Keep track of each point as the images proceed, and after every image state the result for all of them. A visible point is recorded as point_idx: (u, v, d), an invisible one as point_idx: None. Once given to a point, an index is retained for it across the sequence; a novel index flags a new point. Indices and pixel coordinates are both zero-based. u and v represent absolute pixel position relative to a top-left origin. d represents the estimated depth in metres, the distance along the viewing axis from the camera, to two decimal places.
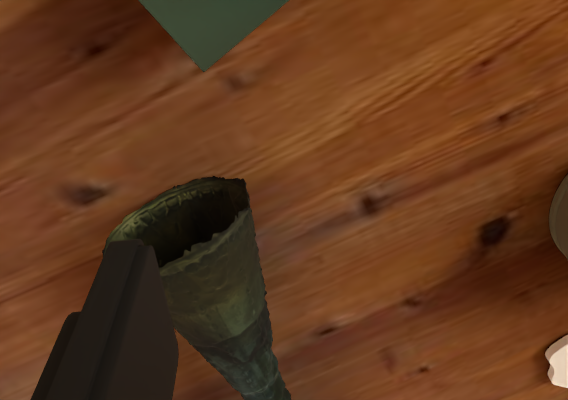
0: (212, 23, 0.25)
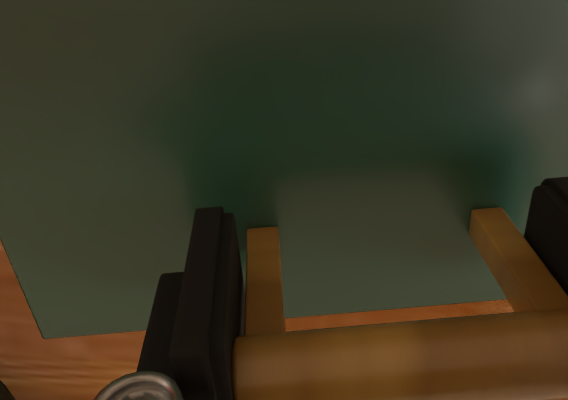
0: (103, 289, 0.13)
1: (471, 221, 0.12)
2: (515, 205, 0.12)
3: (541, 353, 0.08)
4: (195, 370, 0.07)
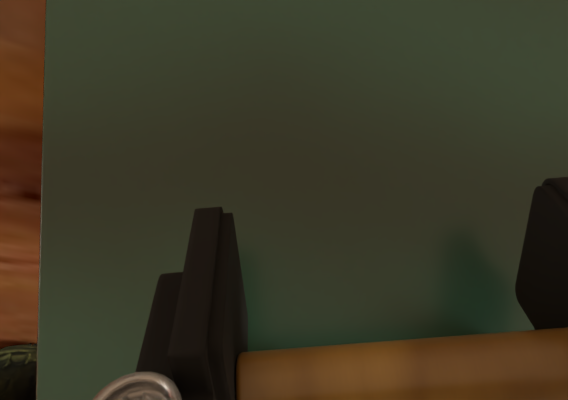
0: None
1: None
2: None
3: (522, 343, 0.09)
4: (194, 371, 0.07)
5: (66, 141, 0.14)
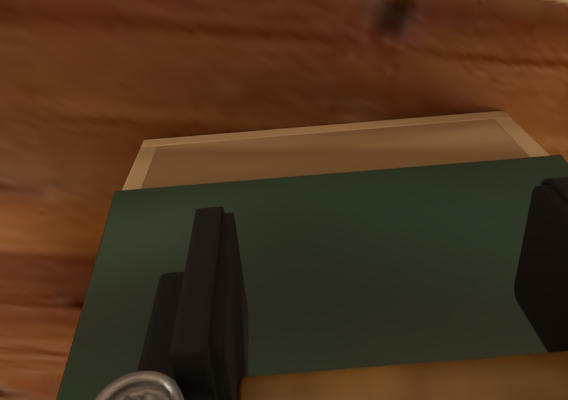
0: None
1: None
2: None
3: (516, 357, 0.09)
4: (196, 370, 0.07)
5: (107, 291, 0.16)
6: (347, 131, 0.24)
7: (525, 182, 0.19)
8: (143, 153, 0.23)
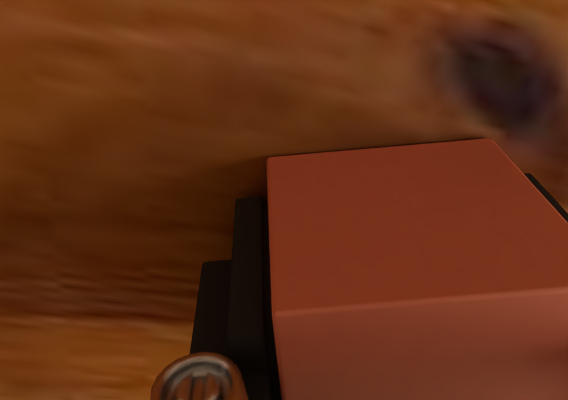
0: None
1: None
2: None
3: None
4: (251, 352, 0.08)
5: None
6: None
7: None
8: None
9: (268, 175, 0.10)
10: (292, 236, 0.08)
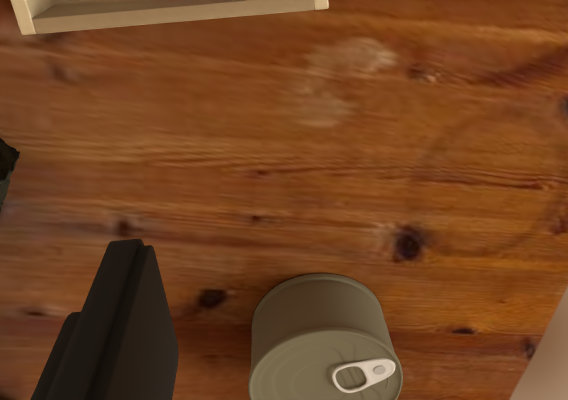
0: None
1: None
2: None
3: None
4: None
5: None
6: None
7: None
8: None
9: None
10: None
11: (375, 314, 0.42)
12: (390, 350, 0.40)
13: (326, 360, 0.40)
